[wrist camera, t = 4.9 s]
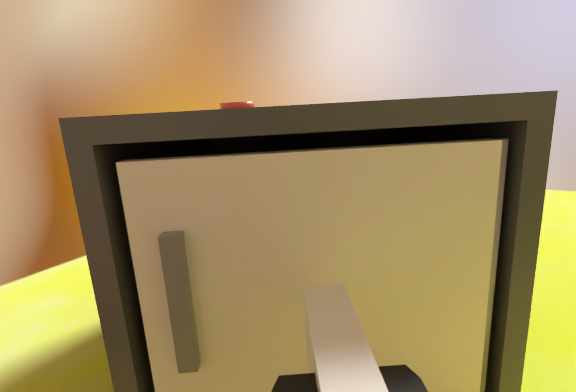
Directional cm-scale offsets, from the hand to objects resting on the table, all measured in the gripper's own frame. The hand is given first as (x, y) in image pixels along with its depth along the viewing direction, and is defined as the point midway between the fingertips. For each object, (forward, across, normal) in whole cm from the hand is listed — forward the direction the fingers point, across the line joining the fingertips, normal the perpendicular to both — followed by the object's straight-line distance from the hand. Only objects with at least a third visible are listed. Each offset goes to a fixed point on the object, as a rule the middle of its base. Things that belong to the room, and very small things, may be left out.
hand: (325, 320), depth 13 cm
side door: (+2, 0, -6) cm, 6 cm away
